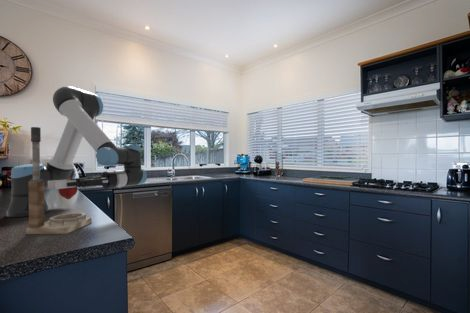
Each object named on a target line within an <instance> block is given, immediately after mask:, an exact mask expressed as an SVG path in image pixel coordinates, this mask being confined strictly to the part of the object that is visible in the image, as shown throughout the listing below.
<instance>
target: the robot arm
mask: <svg viewBox="0 0 470 313" xmlns="http://www.w3.org/2000/svg"><path fill="white" fill-rule="evenodd" d="M52 103H53V107H55V109H56V111H57V112H58V113H59V115H61V116H63V117H66V118H67V121H66V125H65V127H64V128H63V129H64V130H63V132H62V135H61V136H60V139H59V143H58V145H57V147H56V150H55V152H54V154H53V156H52V158H50V159H48V160H47V163H46V165H44V164H43V163H40V179H43V181H44V190H48V189H54V190H59V189H63V188H73V187H76V186H77V188H80V187H81V188H86V187H95V186H97V187H98V186H99V187H100V186H102V188H103V189H104V190H105V189H115V188H118V189H121V188H123V187H131V186H137V185H138V186H139V185H143V184H145V183H146V182H147V180H148V179H147V178H148V174H147V172H146V170H145V169H142V150H141V145H140V144H124V146H123V147H118V146H116V144H115V143H113V141H112V140H111V139H110V138H109V137H108V135H107V134H106V133H105V132H104V131H103V130H102V129H101V127H100V126H99V125H98V124H97V123H96V122H95V121H94V119H95V118H96V117H98V116H100V115H101V114H102V113H103V110H104V103H103V101H102V98H101V97H100V96H99V95H97V94H95V93H93V92H90V91H87V90H84V89H81V88H76V87H75V86H69V85H68V86H67V85H66V86H61V87H59V88H57V89H56V90H55V91H54V93H53V95H52ZM83 138H84V139H85V140H86V142H87V143H88V144H89V145H90V147H91V148H92V149H93V150H94V151H95V152H96V153H95V159H96V162H97V163H98V164H99V165H101V166H107V167H113V166H122V165H123V170H122V169H121V170H119V169H118V170H106V171H103V172H102V173H101V175H93V176H87V177H80V178H78V177H76V175H77V174H76V168H75V166H74V164H73V162H74V159H75V157H76V154H77V152H78V149H79V147H80V144H81V141H82V139H83ZM10 172H11V173H10V174H11V175H10V179H11V180H10V182H11V184H10V185H11V199H10V203H9V205H8V209H7V210H6V217H8V218H23V217H24V218H25V217H29V183H28V182H29V181H30V179H33V164H32V163H31V164H30V163H29V164H21V165H16V166H13V167H12V168H11V171H10ZM68 178H70V179H71V180H67V179H68ZM66 180H67V181H66ZM49 207H50V206H49V204H48V202H47V200H46V197H45V196H44V214H45V213H48V212H49V211H50V210H49Z"/></svg>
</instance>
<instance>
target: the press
mask: <svg viewBox="0 0 470 313" xmlns="http://www.w3.org/2000/svg"><path fill="white" fill-rule="evenodd" d="M41 130H42V129H41V127H39V126H31V127H30V140H31V141H30V142H31V143H32V144H31V145H32V148H31V149H32V150H31V151H32V153H31V154H32V155H31V156H32V157H31V159H32V163H31V164H33V179H30V181H29V182H28V183H29V216H28V227H26V229H25V230H26V232H25V233H26V235H66V234H69V233H71V232H73V231H76V230H79V229H80V228H83V227H84V226H88V225H90V224H91V223H92V217H87V214H86V213H85V212H69V213H68V212H67V213H62V214H61V213H60V214H57V215H53V216H51V217H49V219H48V220H47V221H45V213H44V197H45V189H44V181H43V179H40V164H41V161H40V160H41V159H40V158H41V157H40V156H41V152H40V149H41V148H40V146H41V145H40V144H41V141H42V140H41V139H42V138H41V134H42V132H41Z"/></svg>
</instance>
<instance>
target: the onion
mask: <svg viewBox="0 0 470 313" xmlns="http://www.w3.org/2000/svg"><path fill="white" fill-rule="evenodd" d="M67 180H71V179H70V178H68V179H67ZM67 180H66V181H67ZM58 193H59V195H60V196H61V197H62V198H64V199H66V200H70V199H72V198H73V197H74V196H75V195H76V194H77V193H78V187H77V186H76V187H73V188H63V189H58Z"/></svg>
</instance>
